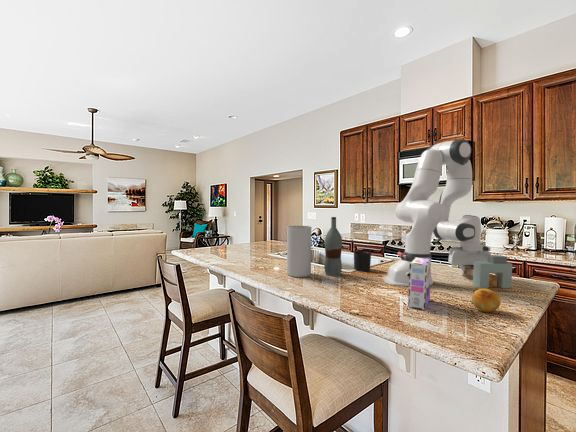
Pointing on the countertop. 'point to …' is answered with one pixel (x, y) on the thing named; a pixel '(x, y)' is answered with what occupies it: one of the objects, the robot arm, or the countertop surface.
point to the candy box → (419, 283)
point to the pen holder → (362, 260)
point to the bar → (470, 275)
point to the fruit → (486, 300)
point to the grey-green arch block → (493, 265)
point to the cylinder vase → (299, 251)
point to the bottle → (333, 250)
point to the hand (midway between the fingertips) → (468, 273)
